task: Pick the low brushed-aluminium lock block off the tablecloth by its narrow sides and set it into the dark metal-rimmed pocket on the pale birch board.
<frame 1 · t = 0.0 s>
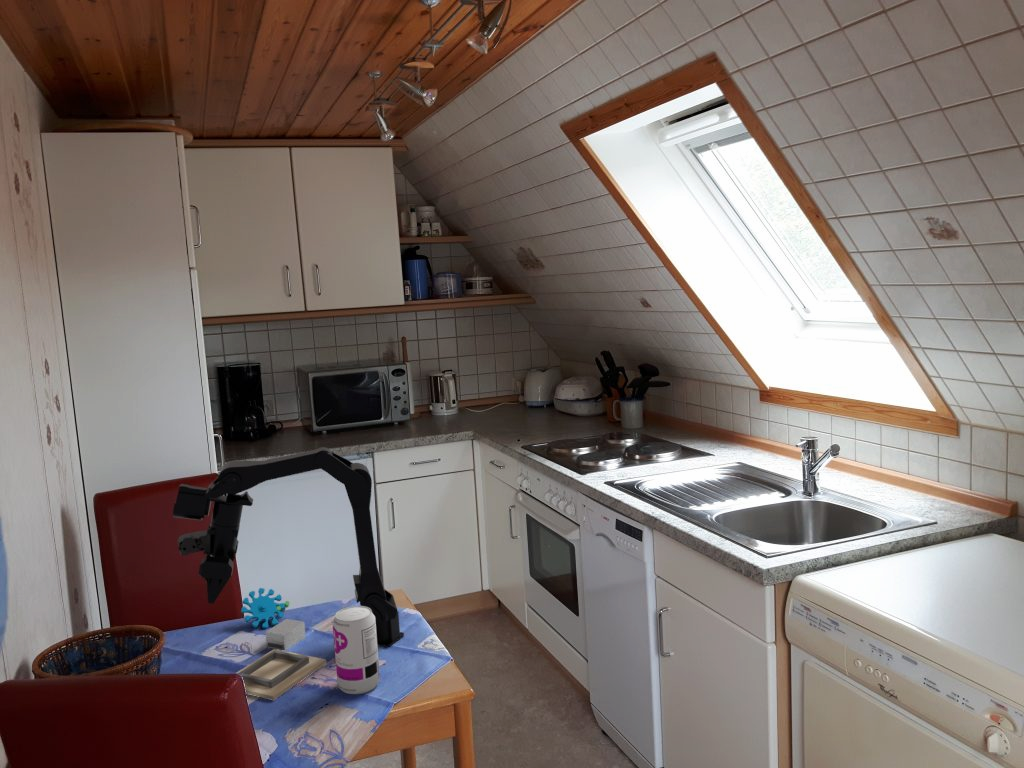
hand: (213, 595, 173), 15 cm above the table, tool pointing down, fingers open, 9 cm apart
dock: (274, 675, 169), on the table
lock block: (286, 643, 184), on the table
supplement can: (359, 686, 164), on the table
gear: (267, 623, 196), on the table
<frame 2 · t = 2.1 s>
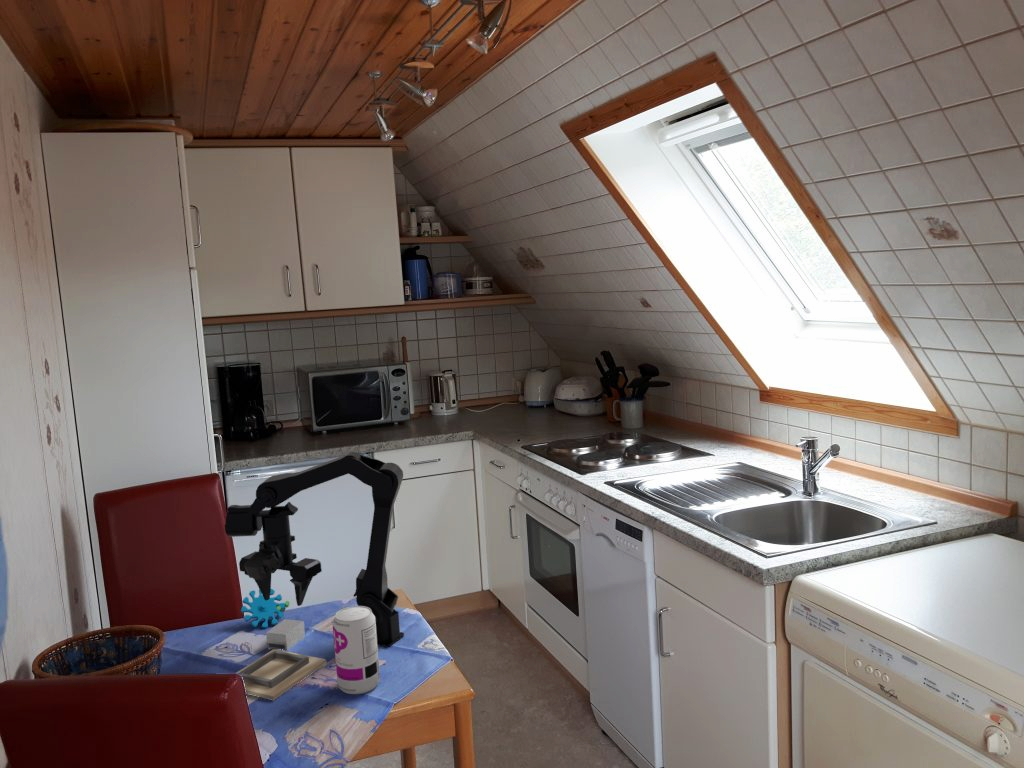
hand: (283, 602, 183), 9 cm above the table, tool pointing down, fingers open, 9 cm apart
nothing on the table moved.
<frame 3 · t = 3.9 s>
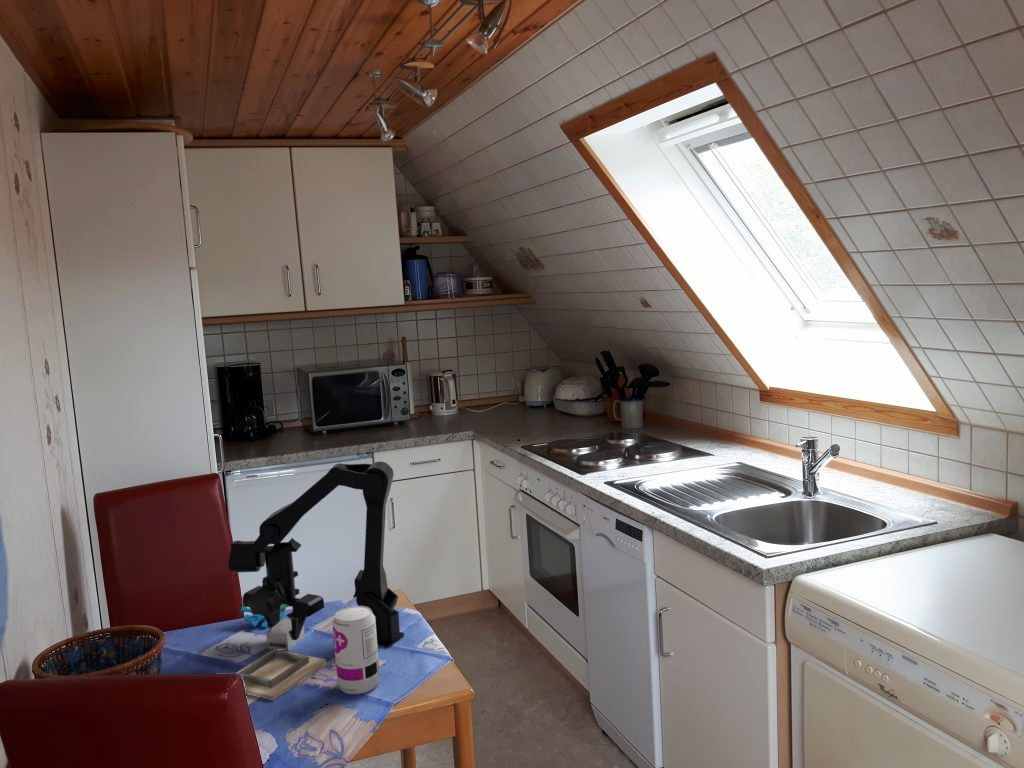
hand: (286, 637, 184), 1 cm above the table, tool pointing down, fingers closed on lock block, 5 cm apart
lock block: (286, 642, 184), on the table, touching gripper
everything else where it was.
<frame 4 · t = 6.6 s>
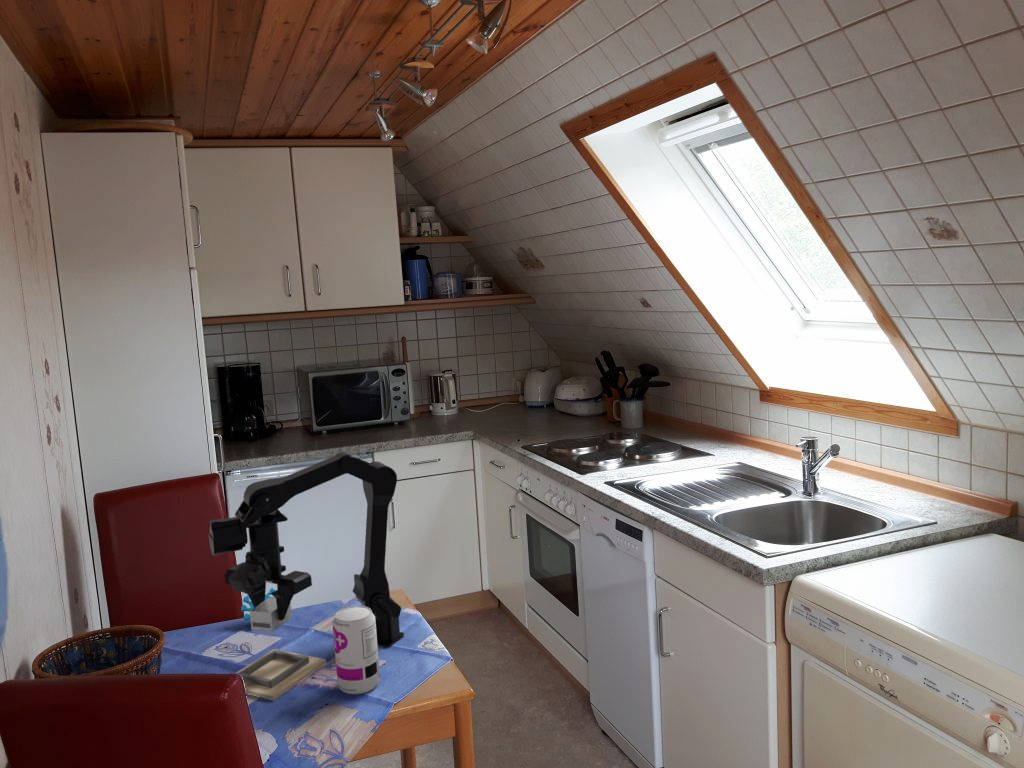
hand: (271, 617, 171), 11 cm above the table, tool pointing down, fingers closed on lock block, 5 cm apart
lock block: (271, 623, 171), point 10 cm above the table, touching gripper
everything else where it was.
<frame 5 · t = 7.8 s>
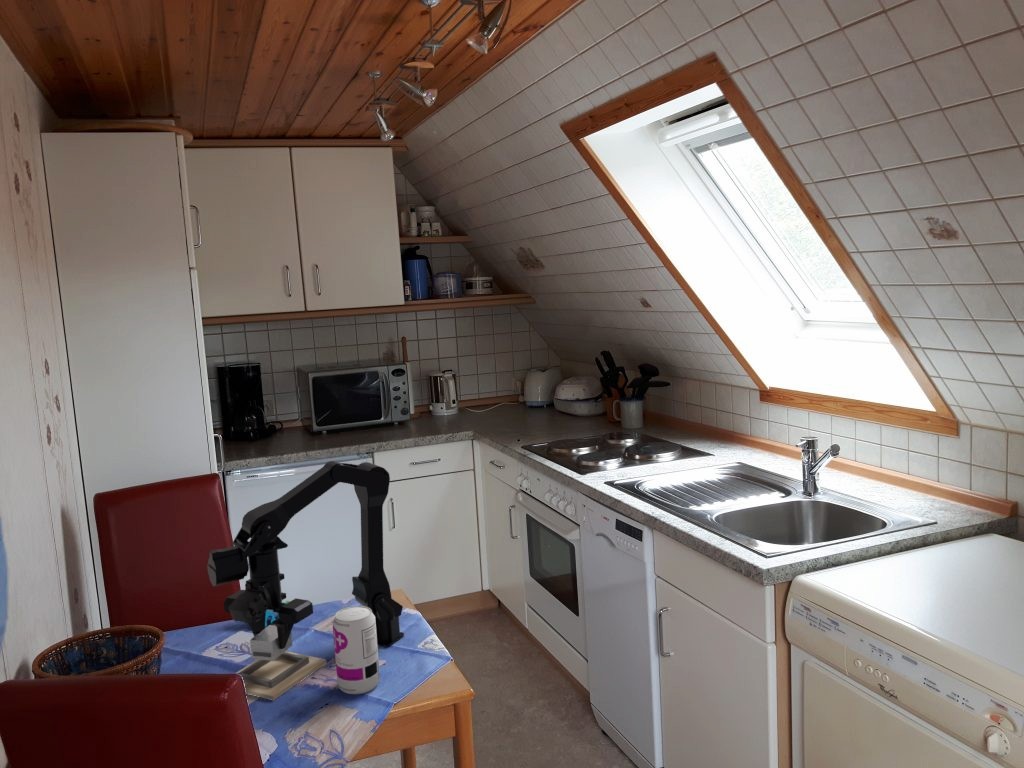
hand: (271, 646, 168), 6 cm above the table, tool pointing down, fingers closed on lock block, 5 cm apart
lock block: (272, 651, 168), point 5 cm above the table, touching gripper
everything else where it was.
when the fingers open (4 cm above the table, at t = 9.1 s): lock block drops 1 cm, resting on dock.
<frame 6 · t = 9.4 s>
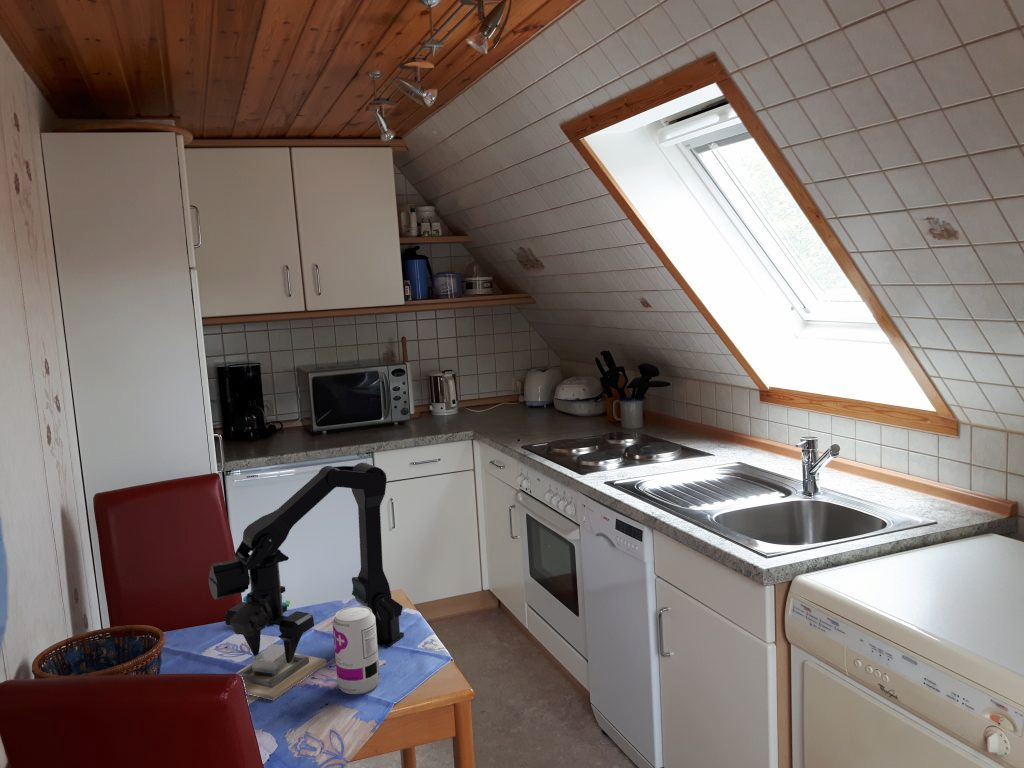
hand: (272, 658, 169), 4 cm above the table, tool pointing down, fingers open, 8 cm apart
lock block: (274, 671, 169), point 1 cm above the table, touching dock
everything else where it was.
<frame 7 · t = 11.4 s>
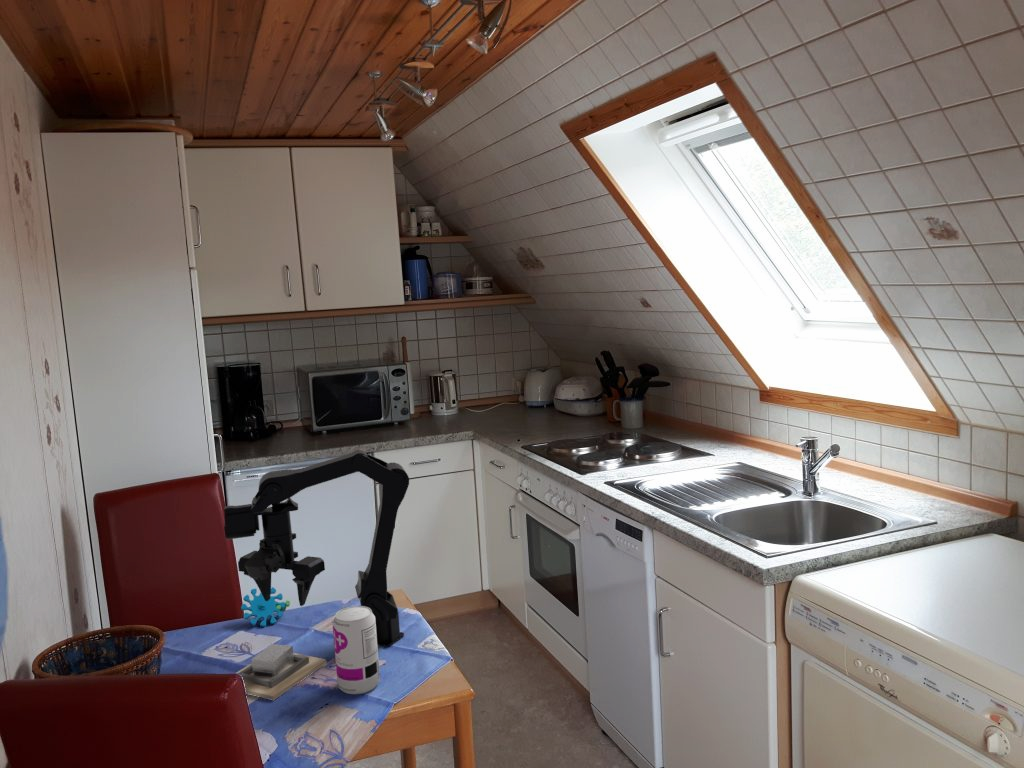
hand: (284, 602, 176), 12 cm above the table, tool pointing down, fingers open, 9 cm apart
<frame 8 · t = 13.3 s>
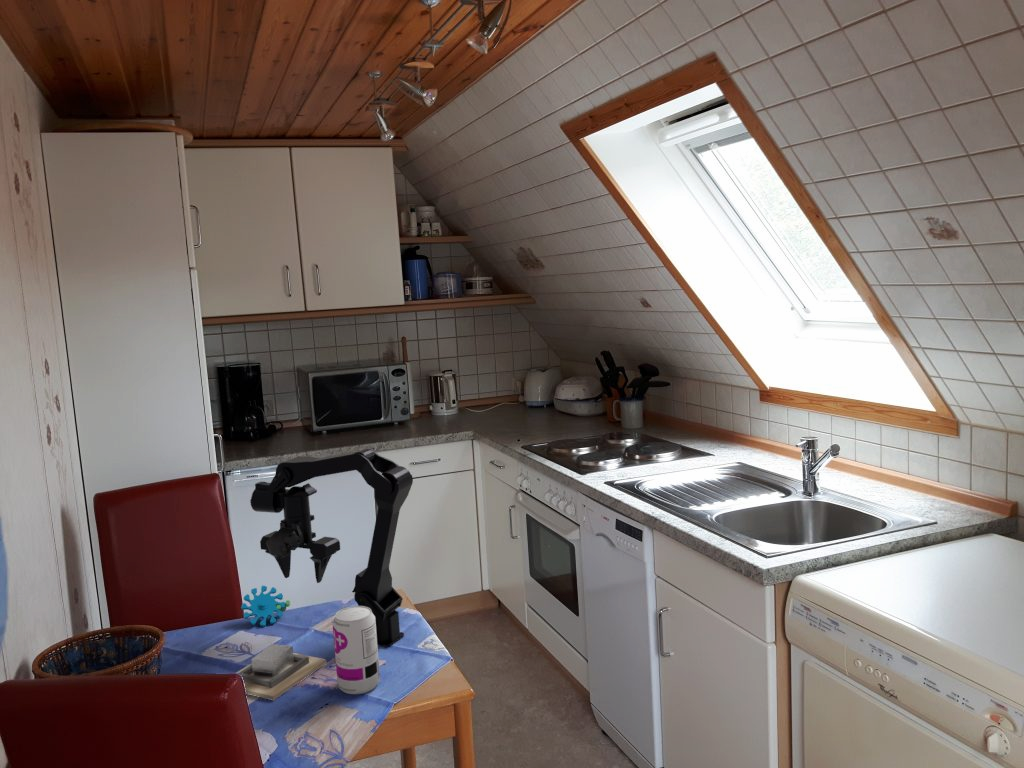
hand: (302, 579, 189), 12 cm above the table, tool pointing down, fingers open, 9 cm apart
at the end: lock block 0.1 cm off-centre on the dock, point 1.0 cm above the dock's base; lock block tilted 0°; the gripper is holding nothing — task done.
